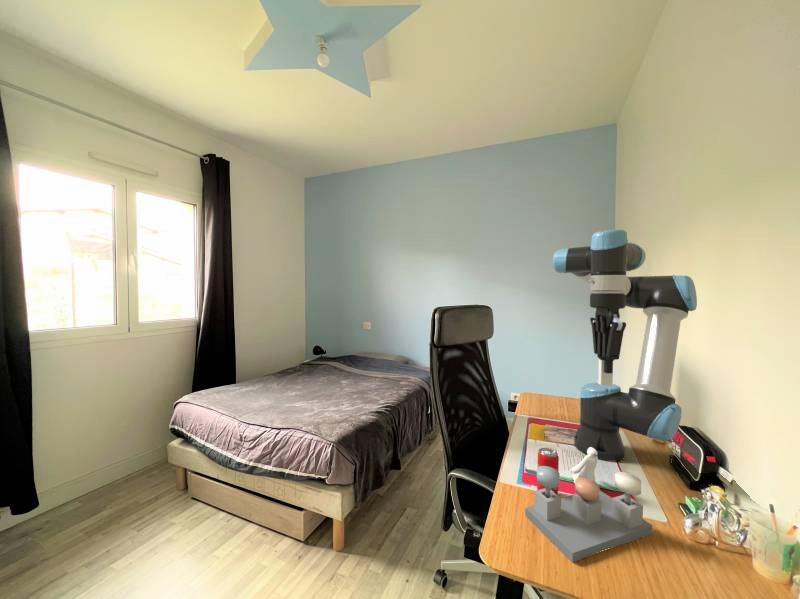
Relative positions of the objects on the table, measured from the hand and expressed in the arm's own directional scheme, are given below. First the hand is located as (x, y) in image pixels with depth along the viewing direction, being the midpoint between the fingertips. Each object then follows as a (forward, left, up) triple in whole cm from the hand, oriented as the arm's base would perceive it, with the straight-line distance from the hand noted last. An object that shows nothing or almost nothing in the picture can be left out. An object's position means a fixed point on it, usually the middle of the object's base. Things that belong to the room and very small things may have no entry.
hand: (605, 384), depth 79 cm
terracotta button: (+9, +3, -29) cm, 31 cm away
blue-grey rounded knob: (+17, -1, -27) cm, 32 cm away
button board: (+9, +3, -32) cm, 34 cm away
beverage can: (+10, -9, -33) cm, 35 cm away
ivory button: (+1, +7, -27) cm, 28 cm away
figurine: (-4, -9, -33) cm, 34 cm away
